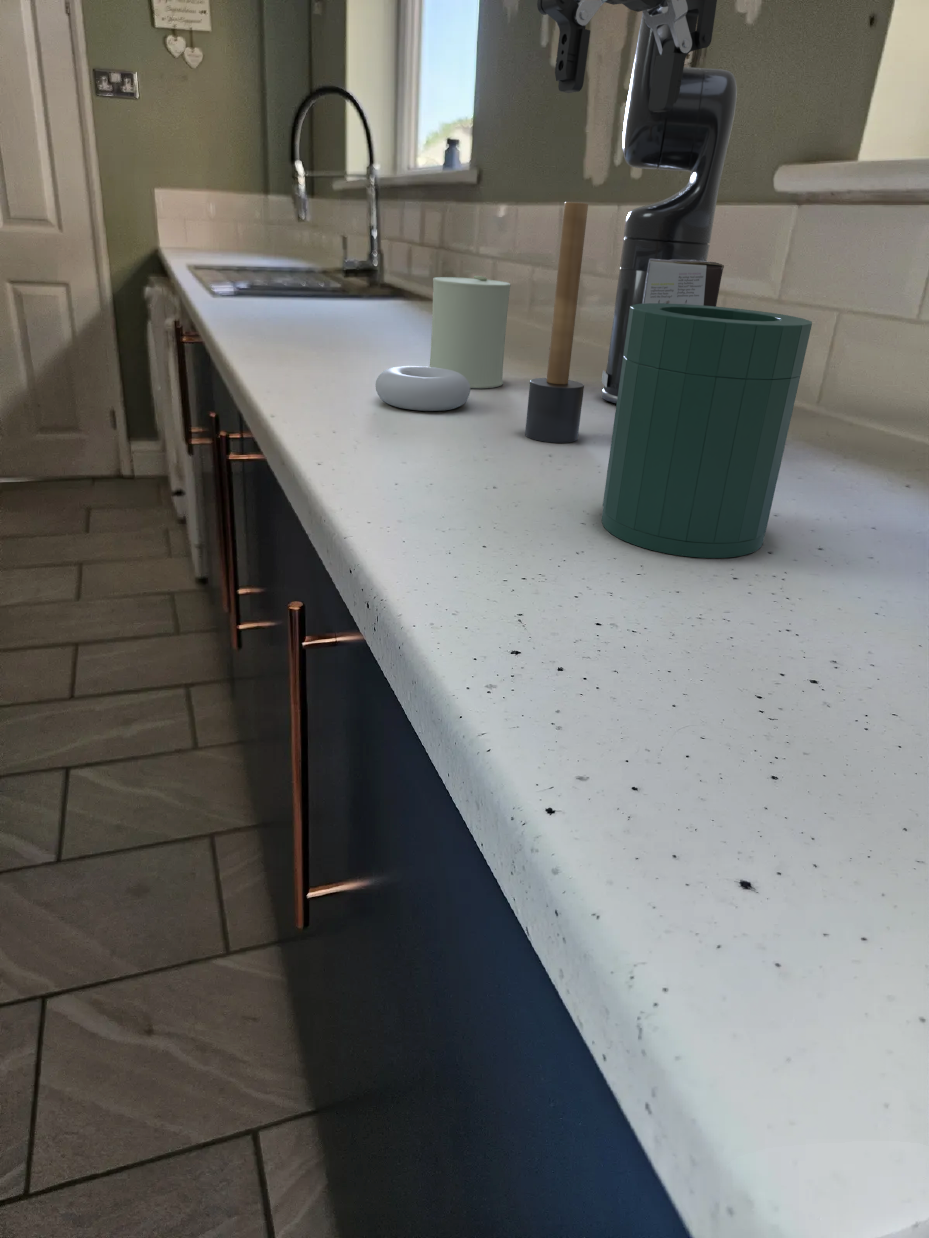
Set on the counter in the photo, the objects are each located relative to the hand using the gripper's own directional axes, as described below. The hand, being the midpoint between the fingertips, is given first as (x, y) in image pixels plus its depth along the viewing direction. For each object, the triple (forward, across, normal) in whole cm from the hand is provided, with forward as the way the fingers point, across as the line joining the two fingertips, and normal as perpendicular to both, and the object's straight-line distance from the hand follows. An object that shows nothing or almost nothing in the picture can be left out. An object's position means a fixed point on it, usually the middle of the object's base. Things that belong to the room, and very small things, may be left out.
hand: (615, 101), depth 65 cm
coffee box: (+26, -13, -3) cm, 30 cm away
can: (+26, -8, -34) cm, 44 cm away
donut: (+27, +3, -22) cm, 35 cm away
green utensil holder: (+27, +3, +19) cm, 34 cm away
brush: (+27, -3, -6) cm, 28 cm away
